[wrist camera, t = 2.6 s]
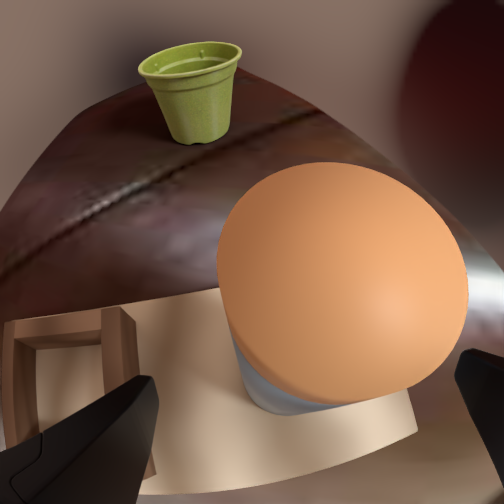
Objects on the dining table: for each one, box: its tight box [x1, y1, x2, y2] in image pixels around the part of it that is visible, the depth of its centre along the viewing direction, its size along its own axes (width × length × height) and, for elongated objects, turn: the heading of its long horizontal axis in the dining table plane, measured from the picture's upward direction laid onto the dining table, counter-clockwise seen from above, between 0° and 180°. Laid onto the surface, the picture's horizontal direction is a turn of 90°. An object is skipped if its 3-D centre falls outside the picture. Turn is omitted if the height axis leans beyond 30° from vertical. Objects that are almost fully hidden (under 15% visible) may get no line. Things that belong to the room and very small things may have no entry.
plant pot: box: [138, 42, 242, 145], centre depth 25 cm, size 9×9×9 cm
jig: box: [1, 288, 418, 495], centre depth 14 cm, size 26×12×4 cm, turn 102°
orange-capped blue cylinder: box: [217, 162, 468, 416], centre depth 10 cm, size 5×5×12 cm
